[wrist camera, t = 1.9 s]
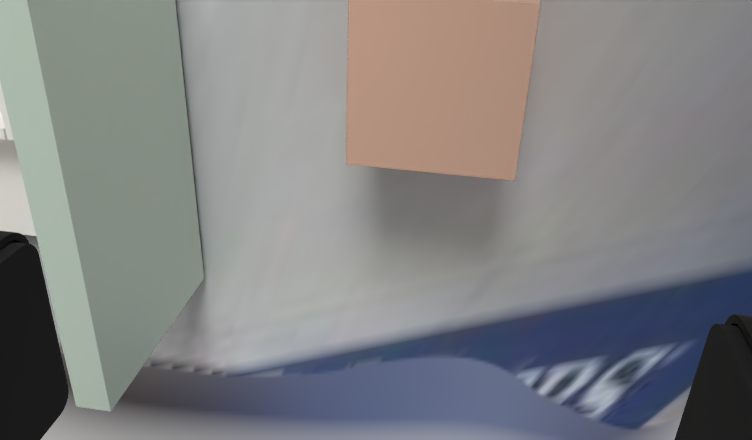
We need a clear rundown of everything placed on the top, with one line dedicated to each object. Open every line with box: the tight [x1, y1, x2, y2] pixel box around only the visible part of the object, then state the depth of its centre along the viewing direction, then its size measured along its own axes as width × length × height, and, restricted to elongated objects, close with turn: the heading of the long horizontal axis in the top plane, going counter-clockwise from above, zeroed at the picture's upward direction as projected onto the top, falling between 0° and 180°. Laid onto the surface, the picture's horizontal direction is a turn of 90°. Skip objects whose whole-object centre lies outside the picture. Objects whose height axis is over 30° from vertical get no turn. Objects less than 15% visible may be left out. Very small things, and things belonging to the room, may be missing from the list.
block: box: [346, 0, 540, 181], centre depth 21 cm, size 5×5×5 cm
